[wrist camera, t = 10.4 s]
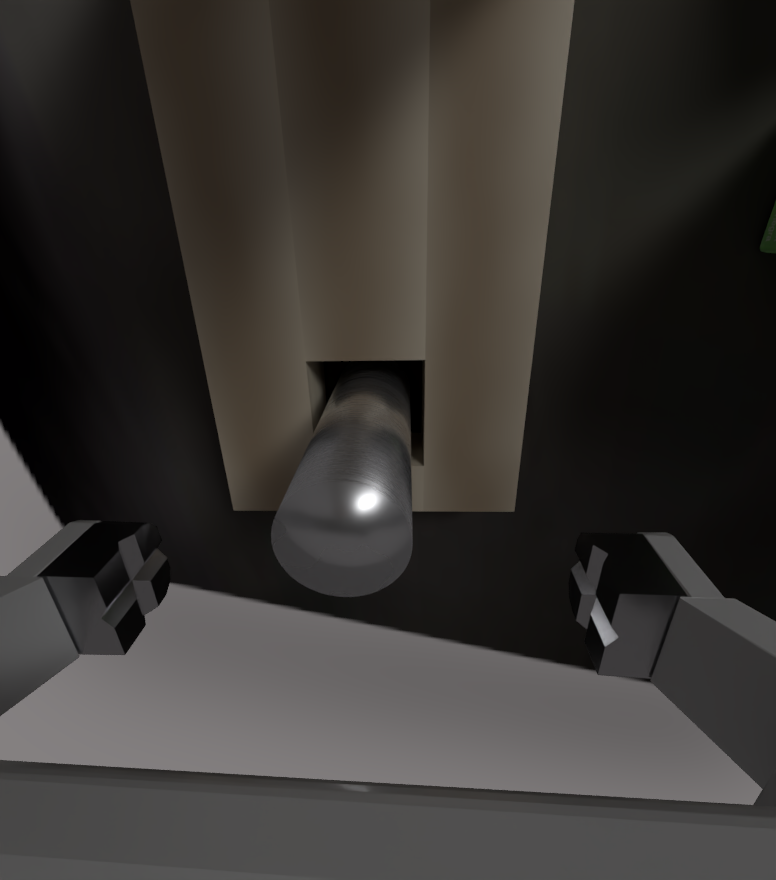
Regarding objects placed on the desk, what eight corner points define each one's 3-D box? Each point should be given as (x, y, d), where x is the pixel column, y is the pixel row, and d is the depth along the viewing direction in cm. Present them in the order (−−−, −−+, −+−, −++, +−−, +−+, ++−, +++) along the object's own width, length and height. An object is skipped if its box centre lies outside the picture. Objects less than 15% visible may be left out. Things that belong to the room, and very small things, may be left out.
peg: (410, 353, 18) (413, 482, 9) (410, 423, 19) (412, 597, 10) (335, 354, 18) (261, 482, 9) (340, 423, 19) (280, 596, 10)
